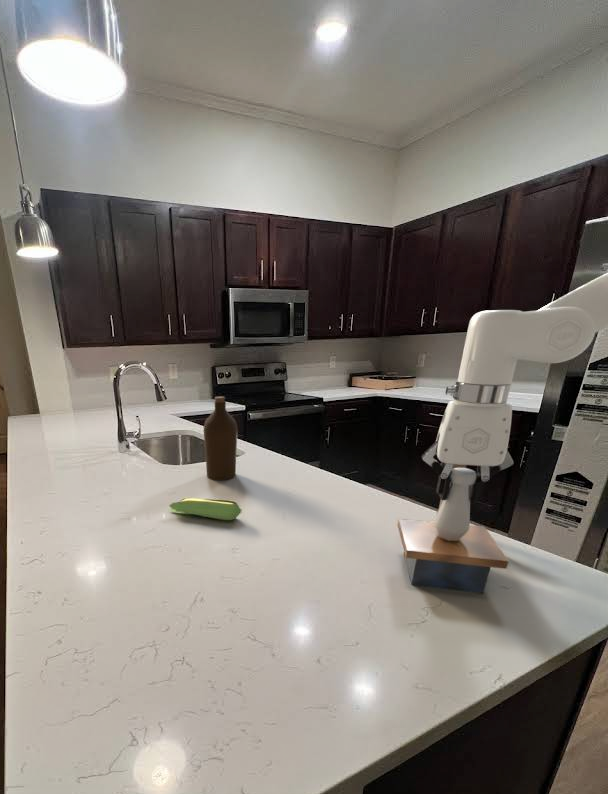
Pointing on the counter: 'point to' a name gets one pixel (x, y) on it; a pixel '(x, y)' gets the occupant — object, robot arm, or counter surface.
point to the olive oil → (220, 442)
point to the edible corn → (207, 508)
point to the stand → (449, 557)
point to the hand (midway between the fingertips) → (457, 497)
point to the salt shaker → (456, 506)
